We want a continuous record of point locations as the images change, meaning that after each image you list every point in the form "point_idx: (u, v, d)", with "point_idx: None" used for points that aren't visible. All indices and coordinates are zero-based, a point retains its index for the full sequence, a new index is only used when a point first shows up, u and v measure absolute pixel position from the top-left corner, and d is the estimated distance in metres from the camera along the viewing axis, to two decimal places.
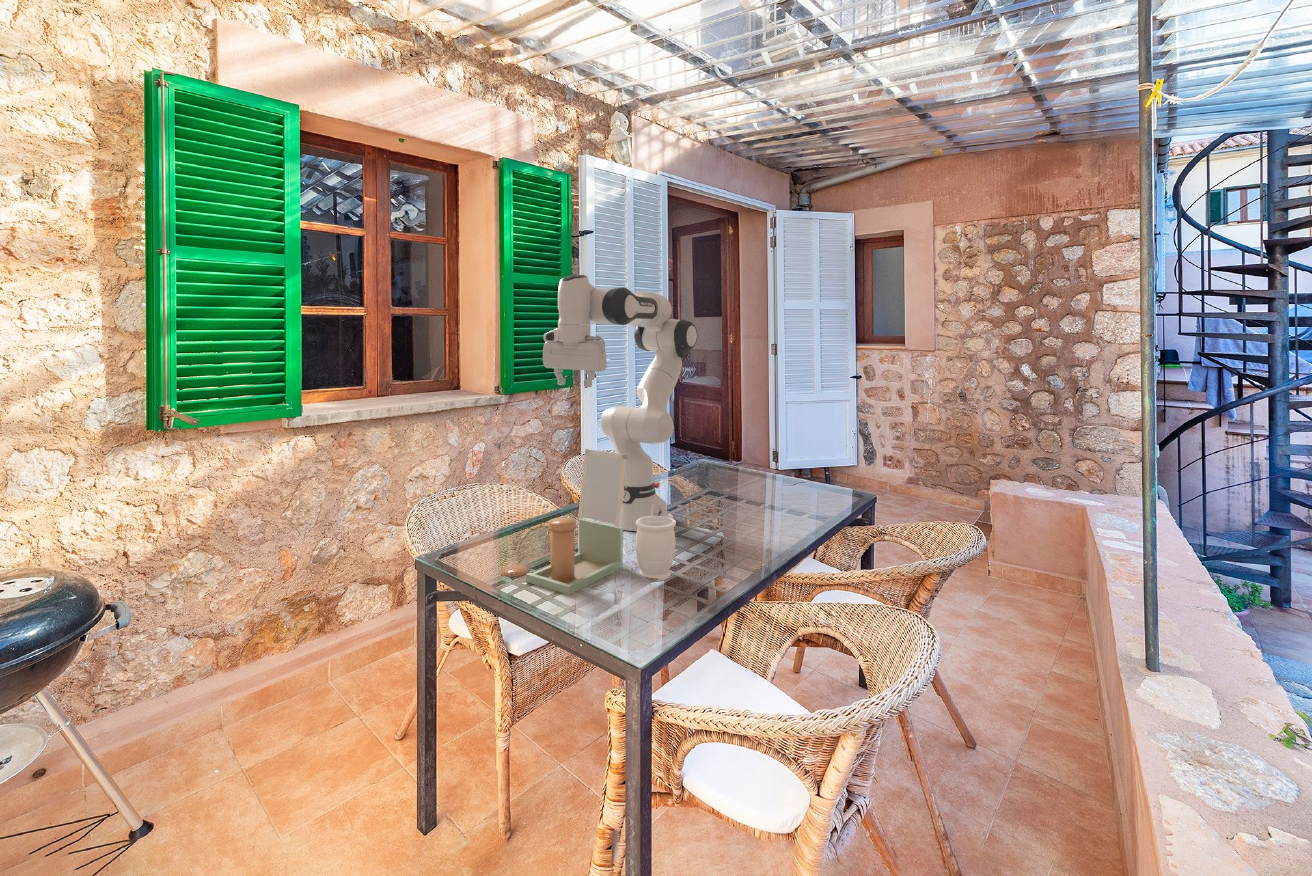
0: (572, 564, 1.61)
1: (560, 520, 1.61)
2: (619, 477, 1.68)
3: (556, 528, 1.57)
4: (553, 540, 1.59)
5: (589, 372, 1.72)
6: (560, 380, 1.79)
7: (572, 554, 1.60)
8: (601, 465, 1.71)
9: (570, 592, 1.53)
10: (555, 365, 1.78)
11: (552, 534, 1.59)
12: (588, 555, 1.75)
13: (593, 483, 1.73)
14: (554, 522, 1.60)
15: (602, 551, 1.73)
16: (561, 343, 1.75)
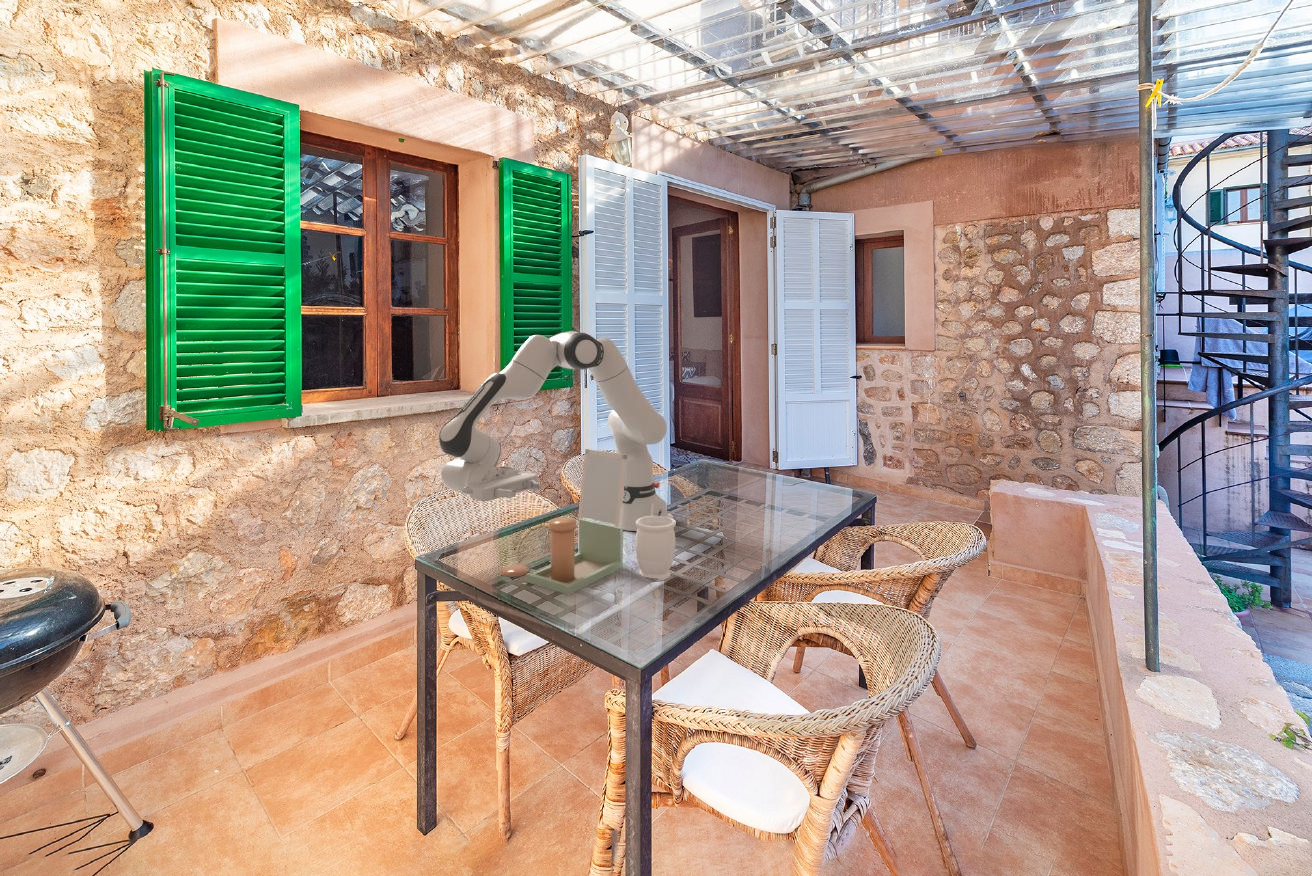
0: (572, 564, 1.61)
1: (560, 520, 1.61)
2: (619, 477, 1.68)
3: (556, 528, 1.57)
4: (553, 540, 1.59)
5: None
6: (534, 489, 1.70)
7: (572, 554, 1.60)
8: (601, 465, 1.71)
9: (570, 592, 1.53)
10: None
11: (552, 534, 1.59)
12: (588, 555, 1.75)
13: (593, 483, 1.73)
14: (554, 522, 1.60)
15: (602, 551, 1.73)
16: None
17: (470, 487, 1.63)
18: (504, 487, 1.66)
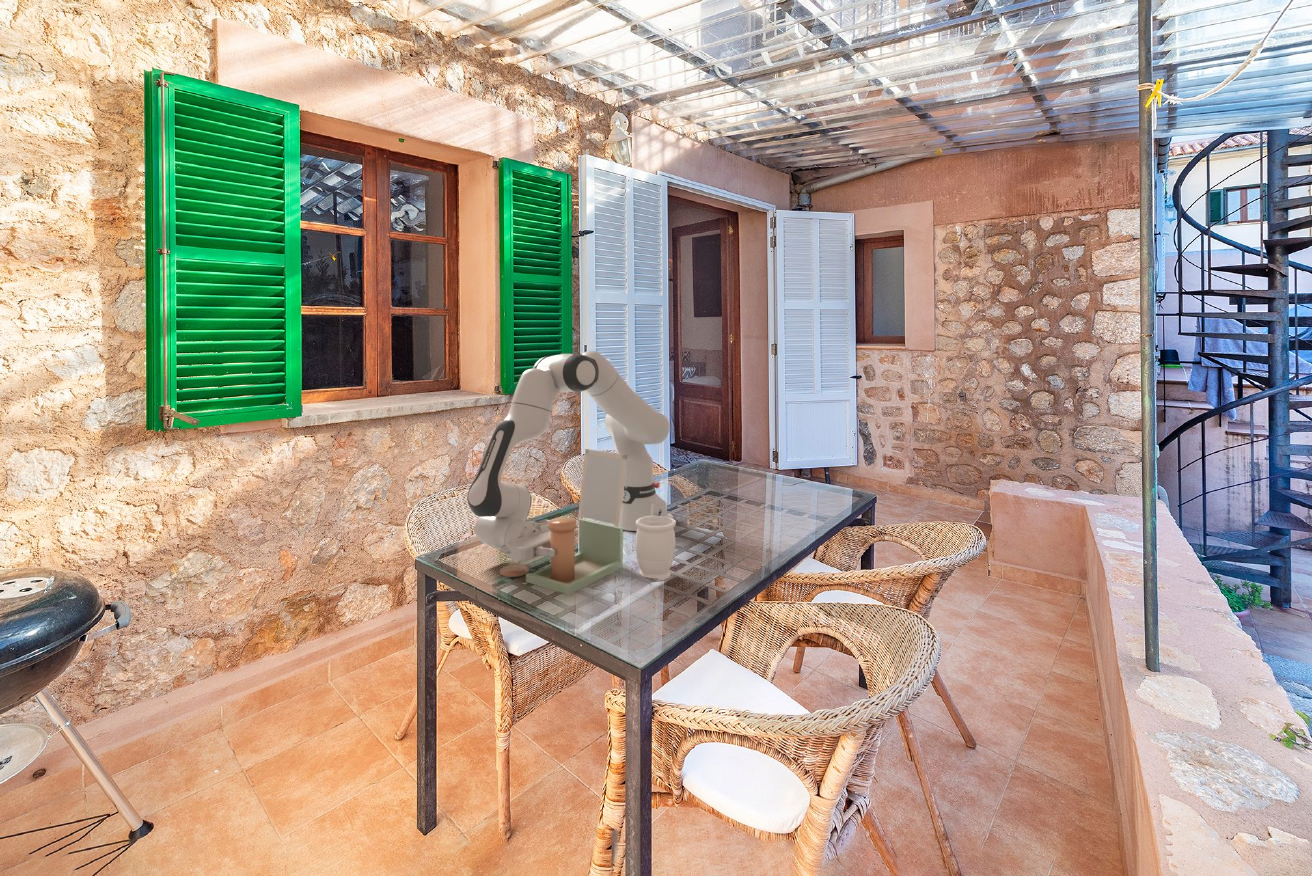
0: (572, 564, 1.61)
1: (560, 520, 1.61)
2: (619, 477, 1.68)
3: (556, 528, 1.57)
4: (553, 540, 1.59)
5: None
6: None
7: (572, 554, 1.60)
8: (601, 465, 1.71)
9: (570, 592, 1.53)
10: None
11: (552, 534, 1.59)
12: (588, 555, 1.75)
13: (593, 483, 1.73)
14: (554, 522, 1.60)
15: (602, 551, 1.73)
16: None
17: (508, 546, 1.58)
18: (542, 545, 1.62)
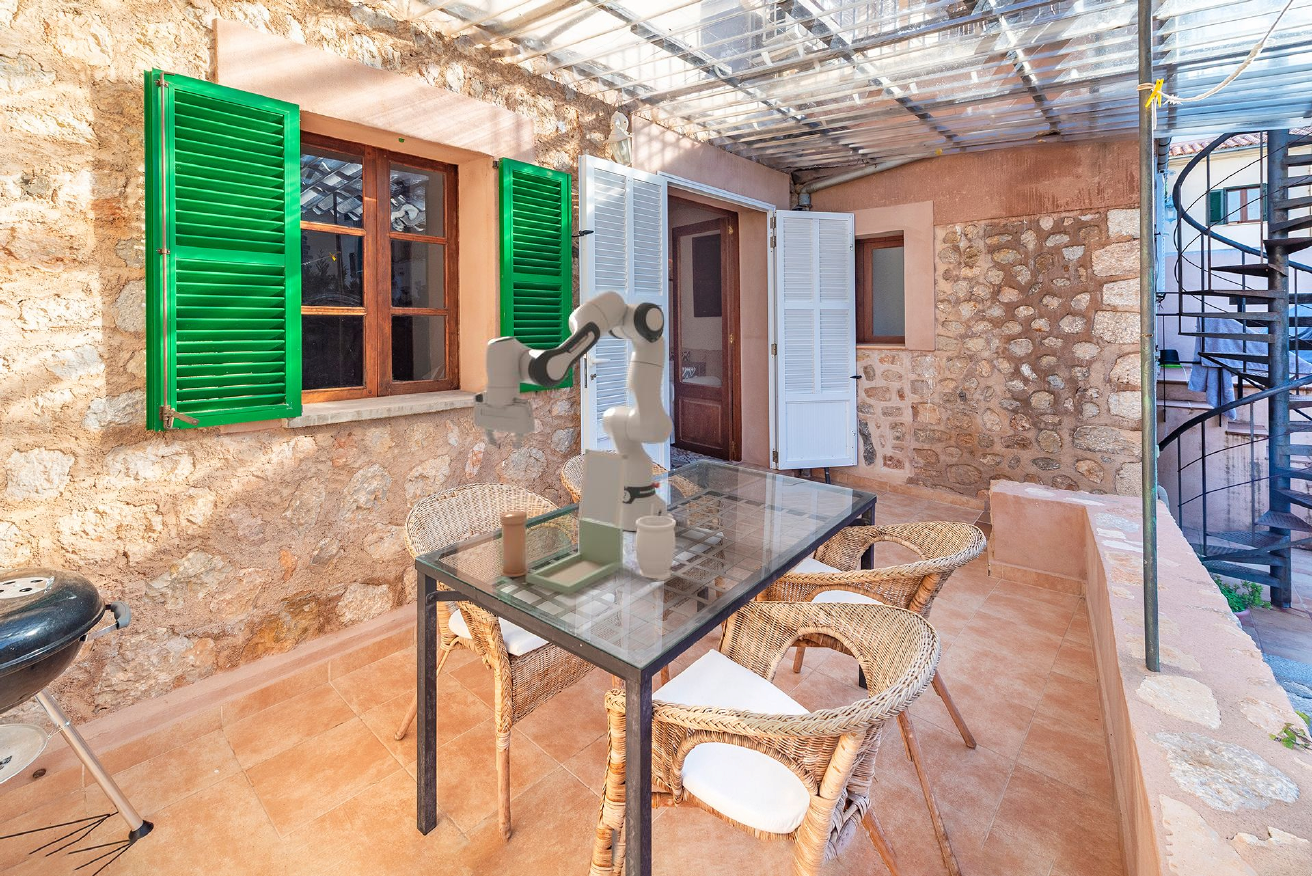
0: (523, 557, 1.65)
1: (511, 514, 1.65)
2: (619, 477, 1.68)
3: (507, 521, 1.61)
4: (504, 533, 1.63)
5: (517, 435, 1.72)
6: (490, 441, 1.78)
7: (523, 546, 1.65)
8: (601, 465, 1.71)
9: (570, 592, 1.53)
10: (485, 426, 1.77)
11: (503, 527, 1.63)
12: (588, 555, 1.75)
13: (593, 483, 1.73)
14: (505, 515, 1.64)
15: (602, 551, 1.73)
16: (490, 405, 1.74)
17: (532, 412, 1.71)
18: None
